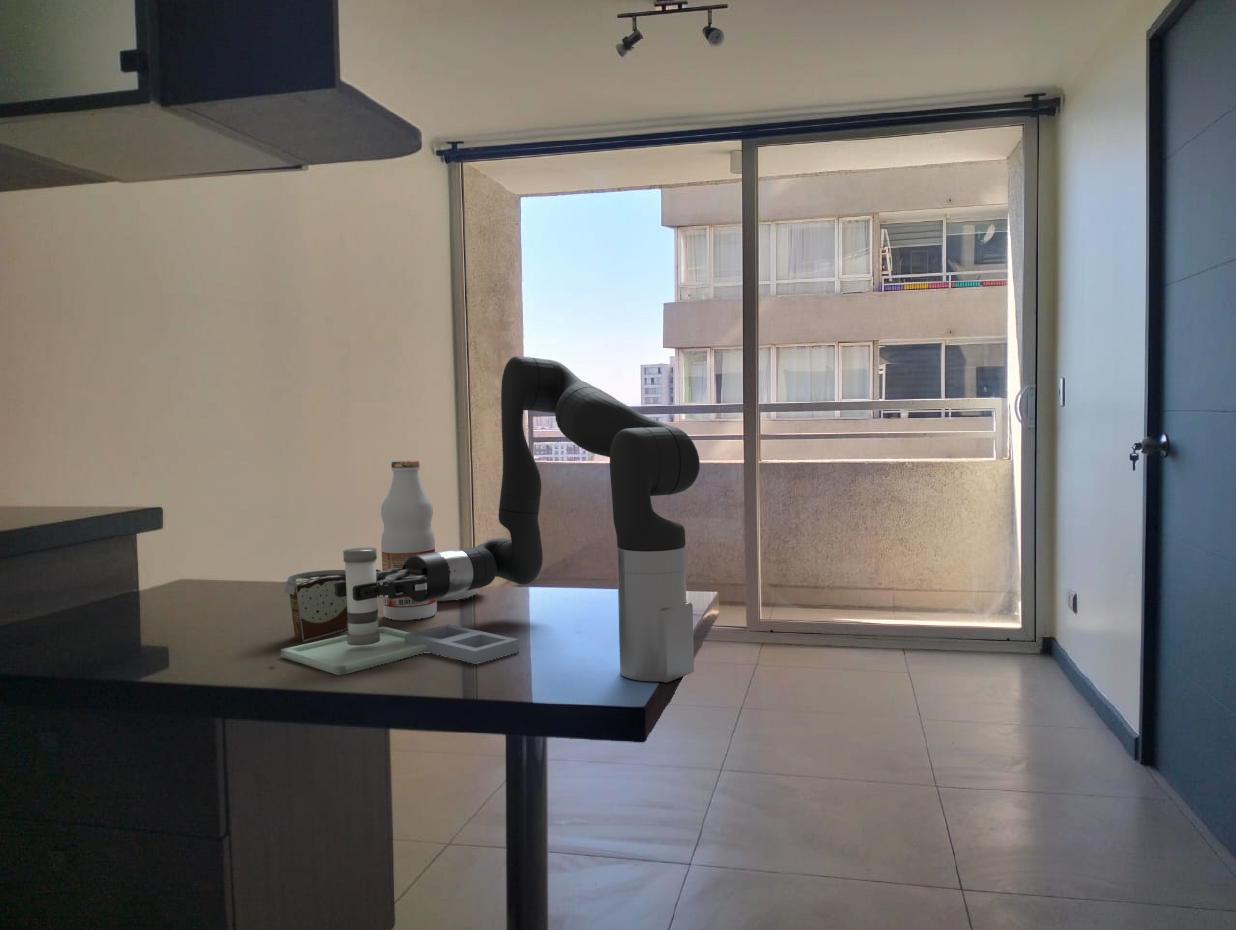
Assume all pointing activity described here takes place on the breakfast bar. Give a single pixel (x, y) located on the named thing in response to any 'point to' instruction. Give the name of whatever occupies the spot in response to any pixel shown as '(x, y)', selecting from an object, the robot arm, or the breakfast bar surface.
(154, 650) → the breakfast bar surface
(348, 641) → the grey-capped white cylinder
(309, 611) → the food container
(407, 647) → the tray
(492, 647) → the fuse block
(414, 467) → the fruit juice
